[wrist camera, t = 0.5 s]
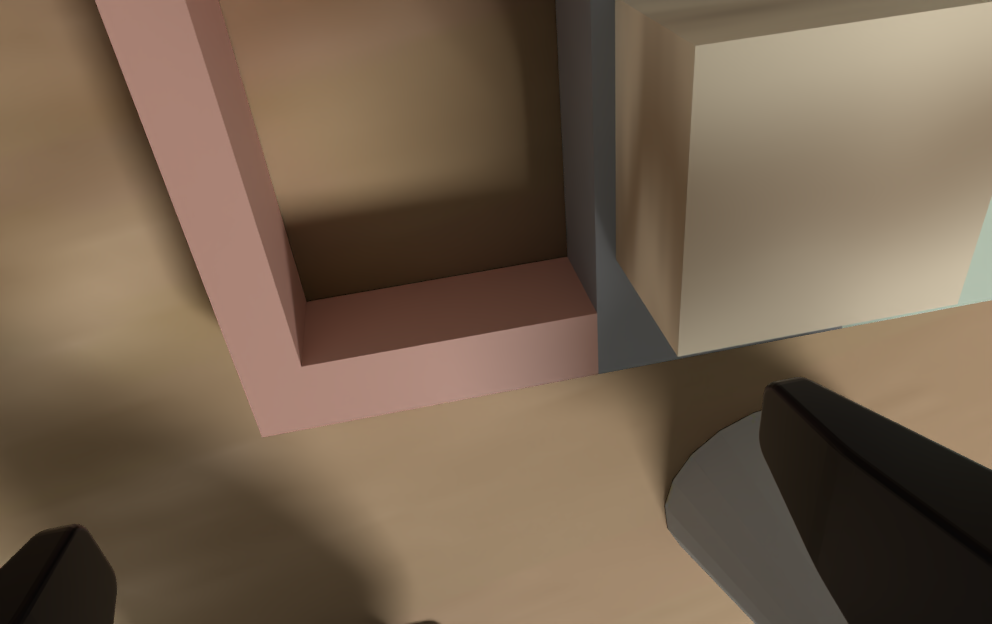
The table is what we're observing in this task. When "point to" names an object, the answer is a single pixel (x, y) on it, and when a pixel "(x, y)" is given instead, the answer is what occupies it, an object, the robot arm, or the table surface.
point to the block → (798, 161)
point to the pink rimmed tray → (407, 308)
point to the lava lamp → (746, 531)
